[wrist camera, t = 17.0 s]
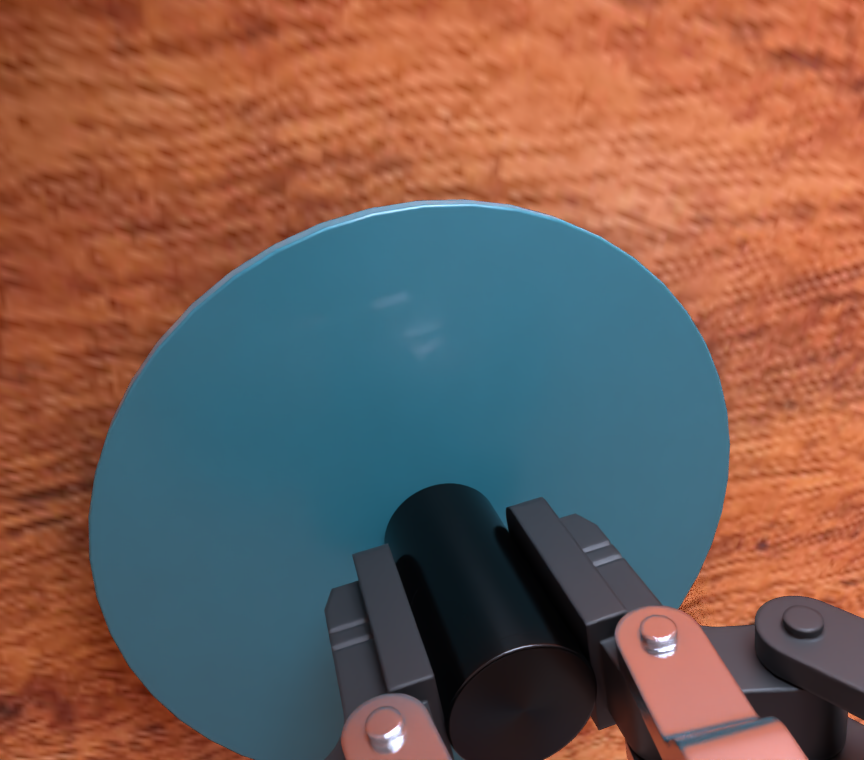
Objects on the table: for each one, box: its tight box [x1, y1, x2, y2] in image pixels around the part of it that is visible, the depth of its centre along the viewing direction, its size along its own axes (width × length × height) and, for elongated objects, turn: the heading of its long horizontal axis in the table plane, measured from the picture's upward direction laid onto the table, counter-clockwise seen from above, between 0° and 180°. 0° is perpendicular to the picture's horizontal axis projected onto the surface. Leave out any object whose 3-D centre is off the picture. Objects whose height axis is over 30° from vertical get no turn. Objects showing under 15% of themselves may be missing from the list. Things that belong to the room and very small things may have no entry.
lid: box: [88, 199, 730, 760], centre depth 14 cm, size 13×13×6 cm
